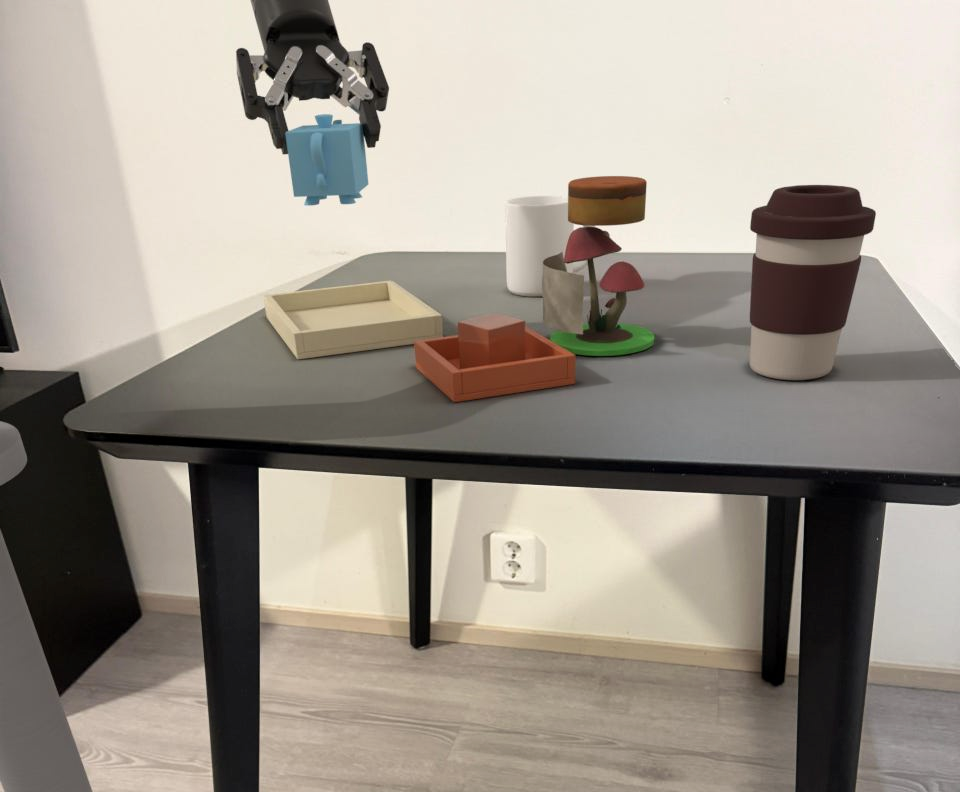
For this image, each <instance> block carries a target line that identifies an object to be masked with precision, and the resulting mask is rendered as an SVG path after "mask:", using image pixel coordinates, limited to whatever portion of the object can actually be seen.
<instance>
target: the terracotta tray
mask: <svg viewBox="0 0 960 792" xmlns="http://www.w3.org/2000/svg"><path fill="white" fill-rule="evenodd" d="M413 346H414V359H415V368H416V369H417V370H418V371H419V372H420V373H421V374H422V375H423V376H425V377H426V378H427V379H428V381H430V382H431V383H432V384H433V385H434V386H435V387H437V388H438V389H439V390H440V391H441V392H442V393H443V394H444V395H446V396H447V398H449V399H450V400H451V401H452V402H453V403H459V402H467V401H472V400H478V399H480V400H481V399H484V398H485V399H486V398H492V397H498V396H506V395H513V394H518V393H525V392H531V391H537V390H544V389H550V388H556V387H557V388H558V387H564V386H570V385H575V384H576V362H577V361H576V359H577V358H576V357H577V356H576V355H577V354H573V353H571V352H569V351H567V350H566V349H564V348H562V347H561V346H559V345H557V344H555V343H554V342H552V341H550V338H549V339H548V338H547V337H545V336H544V335H542V334H540V333H538V332H536V331H535V330H533V329H531V328H530V327H528V326H526V325H525V360H521V361H514V362H507V363H500V364H493V365H486V366H479V367H473V368H466V369H460V362H459V342H458V334H456V335H455V334H454V335H448V336H443V337H440V338H432V339H425V340H418V341H414V344H413Z"/></svg>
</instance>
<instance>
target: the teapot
mask: <svg viewBox="0 0 960 792" xmlns="http://www.w3.org/2000/svg"><path fill="white" fill-rule="evenodd" d="M314 119H315V122H316V124H308V125H307V124H306V125H301V126H298V127H295V128H293V129H289V130H288V131H287V132H286V133H285V134H286V142H287V149H288V154H287V156H288V163H289V170H290V178H291V185H292V193H293V197H294V198H299V197H300V198H301V197H302V198H303V197H306V198H305V201H304V203H303V206H310V207H311V206H318V205H320V201H322V200H326V199H328V197H329V196H338V199H339V203H340V205H354V204H356V203H357V202H356V199H361V198H363V195H362V194H361V193H360V192H362V191H363V190H364V189H366V188H367V186H368V185H369V175H368V164H367V156H366V155H367V154H366V141H365V138H364V133H363V124H362V123H360V122H359V123H356V122H355V123H343V121H342V119H335V120H333V119H334V115H333V114H329V113H322V114H317V115H314Z"/></svg>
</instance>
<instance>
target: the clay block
mask: <svg viewBox="0 0 960 792" xmlns="http://www.w3.org/2000/svg"><path fill="white" fill-rule="evenodd" d="M525 326H526V320H524V319H521V318H515V317H512V316H507V315H503V314H499V313H495V312H492V313H488V314H484V315H483V314H482V315H479V316H475V317H471V318H467V319H463V320H459V321H457V335H458V342H459V362H460V369H466V368H473V367H479V366H486V365H493V364H500V363H507V362H514V361H521V360H525Z"/></svg>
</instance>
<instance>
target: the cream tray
mask: <svg viewBox="0 0 960 792" xmlns="http://www.w3.org/2000/svg"><path fill="white" fill-rule="evenodd" d="M262 297H263V303H264V309H265V317H266V319H267V320H268V321H269V323H270V324H271V325H272V327H273V328H274V329H275V331H276V332H277V333H278V335H279V336H280V337H281V339H282V340H283V342H284V343H285V344H286V345H287V347H288V348H289V350H290V352H291V353H292V354H293V355H294V356H295V358H296V359H297V360H304V359H313V358H319V357H327V356H336V355H341V354H350V353H358V352H365V351H371V350H381V349H388V348H395V347H401V346H409V345H414V341H418V340H425V339H432V338H440V337H444V330H443V315H442V314H441V313H439V312H438V311H436V310H435V309H434V308H432V307H431V306H429V305H428V304H426V303H425V302H424V301H422V300H421V299H419V298H418V297H416V296H415V295H413V294H412V293H410V292H409V291H408V290H406V289H405V288H404V287H402V286H400V285H399V284H397V283H396V282H395V281H393V280H384V281H383V280H382V281H375V282H368V283H367V282H365V283H358V284H348V285H340V286H331V287H322V288H313V289H305V290H296V291H286V292H278V293H271V294H270V293H269V294H263V295H262Z"/></svg>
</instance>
